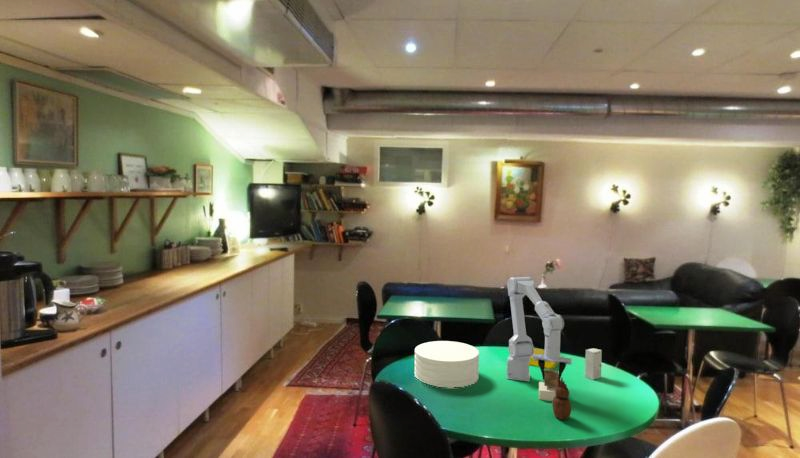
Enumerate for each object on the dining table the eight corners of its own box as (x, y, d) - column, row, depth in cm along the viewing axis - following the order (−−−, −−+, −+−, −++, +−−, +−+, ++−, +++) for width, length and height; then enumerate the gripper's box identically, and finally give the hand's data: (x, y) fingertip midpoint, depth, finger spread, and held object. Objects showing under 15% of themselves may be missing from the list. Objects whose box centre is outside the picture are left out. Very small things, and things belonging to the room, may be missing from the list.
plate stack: (405, 382, 200) (405, 355, 199) (426, 361, 226) (426, 338, 225) (469, 393, 189) (470, 365, 189) (484, 370, 215) (485, 345, 215)
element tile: (531, 355, 237) (531, 346, 237) (561, 361, 229) (562, 351, 228) (520, 363, 225) (520, 353, 225) (552, 370, 216) (552, 360, 216)
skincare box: (593, 380, 204) (594, 352, 203) (584, 376, 208) (585, 349, 207) (601, 377, 207) (602, 350, 207) (592, 374, 211) (593, 347, 210)
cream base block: (539, 400, 184) (539, 390, 183) (538, 391, 192) (538, 381, 192) (563, 403, 181) (563, 393, 181) (561, 393, 190) (562, 384, 190)
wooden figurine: (549, 413, 172) (550, 373, 171) (565, 413, 172) (566, 372, 171) (557, 422, 165) (558, 380, 164) (573, 421, 165) (574, 379, 164)
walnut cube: (544, 385, 185) (544, 373, 185) (544, 381, 190) (545, 368, 189) (557, 387, 183) (558, 374, 183) (557, 382, 188) (558, 370, 188)
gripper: (532, 346, 184) (531, 381, 185) (572, 351, 179) (570, 386, 180) (533, 341, 191) (532, 374, 192) (571, 345, 186) (570, 379, 187)
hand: (551, 379), depth 186 cm, fingers open, 5 cm apart
